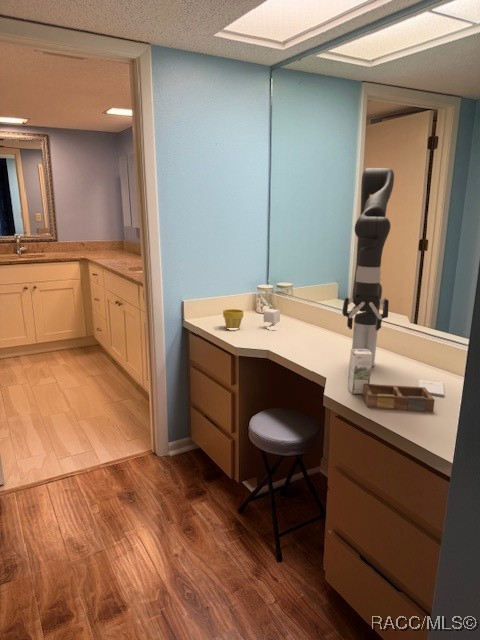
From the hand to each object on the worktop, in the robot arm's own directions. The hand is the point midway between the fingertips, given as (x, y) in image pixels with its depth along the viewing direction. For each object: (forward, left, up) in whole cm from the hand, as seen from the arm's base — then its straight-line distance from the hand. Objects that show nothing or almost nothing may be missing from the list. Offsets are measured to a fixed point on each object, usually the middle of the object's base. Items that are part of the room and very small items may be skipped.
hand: (363, 329), depth 149 cm
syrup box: (0, 0, -22) cm, 22 cm away
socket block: (+8, +11, -22) cm, 26 cm away
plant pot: (-78, -53, -22) cm, 97 cm away
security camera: (-83, -33, -22) cm, 92 cm away
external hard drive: (-7, +26, -23) cm, 35 cm away
